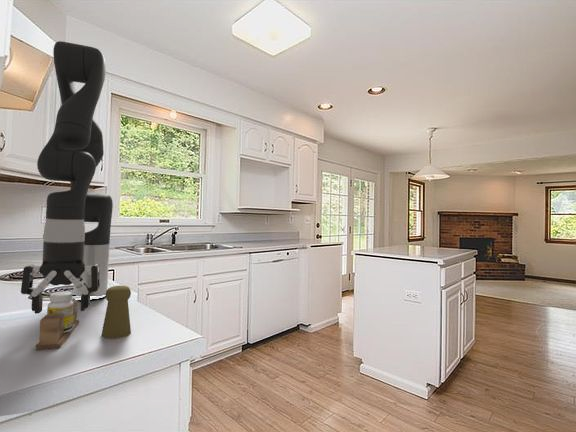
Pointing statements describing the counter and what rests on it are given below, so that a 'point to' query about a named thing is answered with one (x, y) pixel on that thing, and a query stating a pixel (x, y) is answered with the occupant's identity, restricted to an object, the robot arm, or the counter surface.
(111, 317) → the brown tapered upright piece
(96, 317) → the counter surface
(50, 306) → the supplement bottle
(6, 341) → the counter surface
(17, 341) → the counter surface
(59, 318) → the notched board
